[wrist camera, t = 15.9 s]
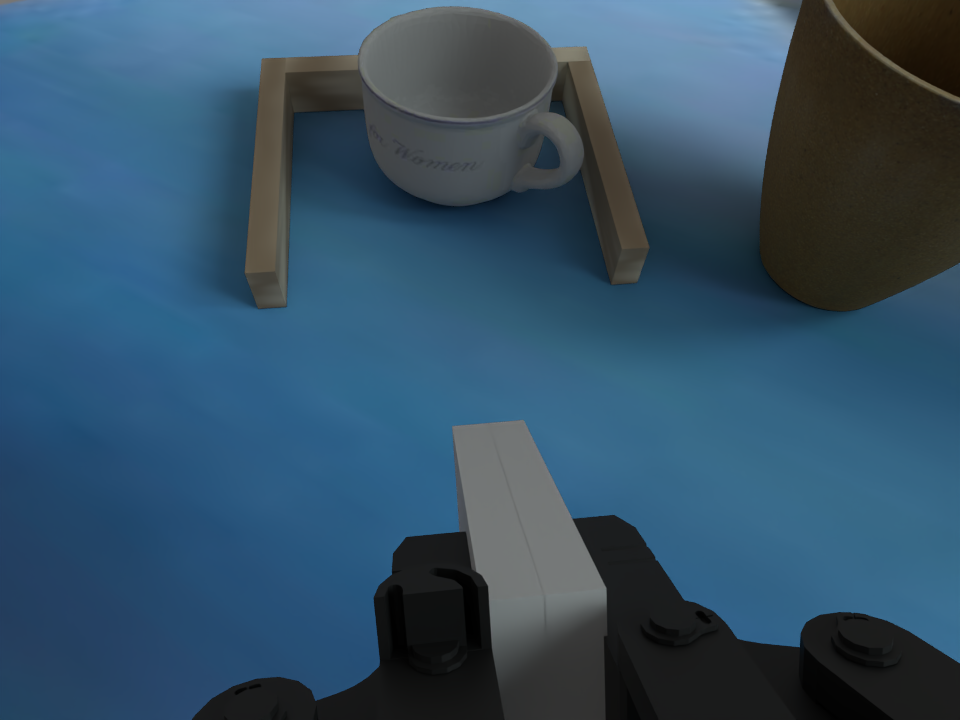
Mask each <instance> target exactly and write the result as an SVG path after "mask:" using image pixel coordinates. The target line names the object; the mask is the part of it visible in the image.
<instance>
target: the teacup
mask: <svg viewBox="0 0 960 720" xmlns="http://www.w3.org/2000/svg"><path fill="white" fill-rule="evenodd" d="M358 71H359V75H360V77H361V80H362V93H363V103H364V112H365V120H366V127H367V134H368V139H369V143H370V147H371V150H372V153H373V155H374V158H375V160H376V162H377V164H378V165H379V167H380V169H381V170H382V171H383V172H384V174H385V175H386V176H387V177H388V178H389V179H390V180H391V181H392V182H393V183H394V184H396V185H397V186H398V187H400V188H401V189H403V190H404V191H406V192H408V193H410V194H412V195H414V196H416V197H418V198H421V199H424V200H427V201H430V202H433V203H436V204H441V205H447V206H467V205H474V204H478V203H482V202H486V201H490V200H492V199H495V198H497V197H500V196H502V195H504V194H506V193H507V192H509V191H511V190H513V191H515V192H525V191H527V190H528V189H552V188H557V187H560V186H562V185H564V184H566V183H568V182H569V181H570V180H571V179H572V178H573V177H574V176H575V175H576V174H577V173H578V172H579V170H580V168H581V165H582V163H583V157H584V148H583V143H582V140H581V137H580V135H579V133H578V131H577V130H576V128H575V126H574V125H573V124H572V123H571V122H570V121H569V120H568V119H566V118H565V117H563V116H562V115H559V114H556V113H552V112H549V108H550V102H551V96H552V90H553V87H554V85H555V83H556V80H557V75H558V64H557V59H556V56H555V54H554V52H553V50H552V48H551V47H550V45H549V44H548V43H547V42H546V40H545V39H544V38H543V37H541V36H540V35H539V33H538V32H536V31H535V30H533V29H532V28H531V27H529V26H527V25H526V24H524V23H522V22H520V21H518V20H516V19H514V18H511V17H508V16H505V15H503V14H500V13H495V12H492V11H488V10H483V9H477V8H470V7H452V6H450V7H435V8H426V9H422V10H418V11H412V12H409V13H406V14H403V15H398V16H395V17H392V18H390V20H388V21H386V22H385V23H383V24H381V25H380V26H378V27H377V28H375V29H374V30H373V31H372V32H371V33H370V34H369V35H368V36H367V37H366V38H365V39H364V41H363V43H362V45H361V47H360V49H359V53H358ZM544 136H546V137H547V138H549V139H550V140H551V141H552V142H553V144H554V145H555V147H556V148H557V151H558V154H559V157H560V166H559V168H557V169H539V168H535V167H534V165H535V163H536V161H537V158H538V156H539V153H540V150H541V147H542V143H543V139H544Z"/></svg>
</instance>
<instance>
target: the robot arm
mask: <svg viewBox="0 0 960 720" xmlns="http://www.w3.org/2000/svg"><path fill="white" fill-rule="evenodd" d="M452 431H453V445H454V459H455V473H456V487H457V502H458V516H459V530H460V532H454V533H444V534H434V535H423V536H413V537H406V538H405V539H404V541H403V542H402V543H401V544H400V546H399V547H398V548H397V549H396V551H395V552H394V553H393V563H392V575H391V576H390V577H389V578H387V579H386V580H385V581H384V582H383V583H381V584H380V585H379V587H378V589H377V591H376V593H375V596H374V607H375V616H376V626H377V636H378V645H379V655H380V666H379V667H378V668H377V669H376V670H375V671H374V672H373V673H372V674H371V675H370V676H369V677H368V678H366V679H365V680H363V681H362V682H360V683H358V684H357V685H355V686H354V687H351V688H349V689H347V690H344V691H342V692H340V693H337V694H335V695H332V696H329V697H326V698H323V699H320V700H317V701H315V699H314V696H313V694H312V691H311V690H310V689H309V688H307V687H306V686H304V685H303V684H302V683H300V682H299V681H296V680H291V679H286V678H281V677H273V678H261V679H255V680H251V681H248V682H245V683H242V684H239V685H236V686H233V687H231V688H229V689H228V690H226V691H224V692H223V693H221V694H219V695H217V696H216V697H214V698H212V699H211V700H210V701H209V702H208V703H207V704H206V705H205V706H204V707H203V708H202V709H201V710H200V711H199V712H198V713H197V714H196V715H195V716H194V718H193V719H192V720H960V663H958V662H957V661H955V660H953V659H952V658H950V657H949V656H947V655H945V654H944V653H942V652H941V651H939V650H938V649H936V648H934V647H933V646H931V645H930V644H928V643H926V642H925V641H923V640H922V639H920V638H918V637H917V636H915V635H914V634H912V633H910V632H909V631H907V630H905V629H903V628H901V627H899V626H896V625H894V624H892V623H890V622H888V621H885V620H882V619H878V618H875V617H871V616H868V615H866V614H860V613H851V612H838V613H830V614H823V615H819V616H817V617H815V618H813V619H811V620H809V621H808V622H806V624H805V626H804V628H803V630H802V632H801V637H800V647H791V646H781V645H771V644H761V643H755V642H749V641H743V640H739V639H737V638H736V636H735V635H734V634H733V632H732V631H731V629H730V628H729V627H728V625H727V624H726V623H725V622H724V621H723V620H722V619H721V618H720V617H719V616H718V615H717V614H716V613H715V612H713V611H712V610H709V609H707V608H705V607H703V606H701V605H699V604H697V603H694V602H689V601H685V600H684V599H683V598H682V596H681V595H680V593H679V592H678V590H677V589H676V588H675V586H674V585H673V583H672V582H671V580H670V579H669V577H668V576H667V574H666V573H665V571H664V570H663V568H662V567H661V565H660V564H659V562H658V561H656V560H655V556H654V555H653V553H652V552H651V550H650V549H649V547H647V546H646V543H645V541H644V540H643V538H642V537H641V535H640V534H639V532H638V531H637V529H636V528H635V527H634V526H632V525H630V524H629V523H627V522H625V521H624V520H622V519H620V518H619V517H617V516H615V515H609V516H598V517H588V518H577V519H572V517H571V515H570V513H569V511H568V509H567V507H566V505H565V503H564V501H563V499H562V497H561V495H560V493H559V491H558V489H557V487H556V485H555V483H554V481H553V479H552V477H551V475H550V473H549V471H548V469H547V467H546V464H545V462H544V460H543V458H542V456H541V454H540V452H539V450H538V448H537V446H536V444H535V442H534V440H533V438H532V436H531V434H530V432H529V430H528V428H527V426H526V424H525V422H524V420H519V421H508V422H496V423H484V424H472V425H460V426H452Z"/></svg>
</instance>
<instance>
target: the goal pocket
mask: <svg viewBox="0 0 960 720" xmlns="http://www.w3.org/2000/svg"><path fill="white" fill-rule="evenodd" d="M552 50H553V52H554V54H555V56H556V59H557V64H558V75H557V80H556V83H555V85H554V87H553V90H552V96H551V101H562V103H563V106H564V110H565V114H566V118H567V119H568V120H569V121H570V122H571V123H572V124H573V125H574V126H575V128H576V130H577V131H578V133H579V135H580V137H581V140H582V143H583V148H584V157H583V163H582V165H581V168H580V170H581V174H582V178H583V181H584V185H585V189H586V192H587V196H588V200H589V204H590V207H591V211H592V215H593V219H594V222H595V226H596V230H597V234H598V237H599V241H600V245H601V249H602V252H603V256H604V260H605V264H606V267H607V271H608V275H609V278H610V282H611V285H613V284H628V283H637V282H638V279H639V276H640V273H641V270H642V267H643V265H644V262H645V259H646V256H647V253H648V251H649V248H650V247H649V244H648V241H647V238H646V234H645V231H644V228H643V225H642V222H641V219H640V215H639V212H638V209H637V206H636V203H635V200H634V196H633V193H632V190H631V187H630V184H629V181H628V177H627V174H626V171H625V168H624V165H623V161H622V158H621V155H620V152H619V149H618V146H617V142H616V139H615V136H614V133H613V130H612V127H611V123H610V120H609V117H608V114H607V111H606V107H605V104H604V101H603V98H602V95H601V92H600V88H599V85H598V82H597V79H596V76H595V73H594V69H593V66H592V63H591V60H590V57H589V53H588V50H587V47H562V48H552ZM359 109H364V103H363V93H362V80H361V77H360V75H359V71H358V55H347V56H320V57H293V58H266V59H262V62H261V75H260V87H259V100H258V112H257V125H256V138H255V150H254V163H253V175H252V188H251V200H250V213H249V226H248V238H247V251H246V263H245V275H246V278H247V281H248V283H249V286H250V288H251V291H252V294H253V296H254V299H255V302H256V304H257V307H258V309H262V308H276V307H287V281H288V255H289V229H290V203H291V177H292V151H293V125H294V112H314V111H337V110H359Z"/></svg>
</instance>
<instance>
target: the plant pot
mask: <svg viewBox="0 0 960 720" xmlns="http://www.w3.org/2000/svg"><path fill="white" fill-rule="evenodd" d="M760 255H761V259H762V263H763V265H764V267H765V269H766V271H767V272H768V273H769V275H770V276H771V277H772V279H773V280H774V281H775V282H776V283H777V284H778V285H779V286H780V287H781V288H782V289H783V290H784V291H786V292H787V293H788V294H790V295H791V296H793V297H795V298H796V299H798V300H800V301H802V302H804V303H806V304H809V305H811V306H814V307H817V308H821V309H826V310H832V311H851V310H857V309H860V308H864V307H866V306H869V305H871V304H874V303H876V302H879V301H881V300H883V299H886V298H888V297H890V296H893V295H895V294H897V293H899V292H902V291H904V290H906V289H908V288H910V287H913V286H915V285H917V284H919V283H921V282H923V281H925V280H927V279H929V278H931V277H933V276H935V275H937V274H939V273H941V272H943V271H945V270H947V269H949V268H951V267H953V266H955V265H957V264H958V263H960V0H803V1H802V5H801V8H800V12H799V15H798V19H797V22H796V25H795V29H794V32H793V36H792V39H791V43H790V47H789V51H788V54H787V58H786V62H785V66H784V70H783V75H782V79H781V83H780V88H779V92H778V96H777V101H776V105H775V110H774V115H773V120H772V126H771V131H770V137H769V143H768V149H767V155H766V161H765V169H764V177H763V186H762V197H761V211H760Z"/></svg>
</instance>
